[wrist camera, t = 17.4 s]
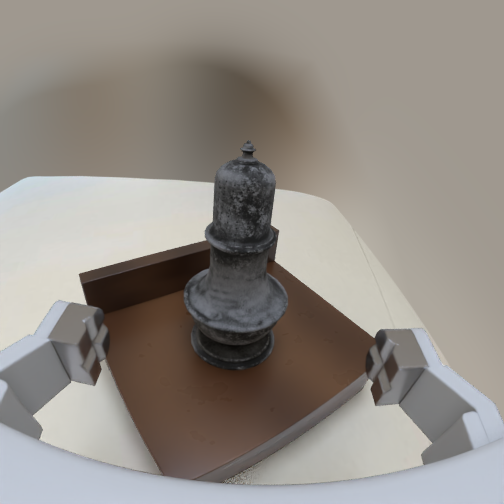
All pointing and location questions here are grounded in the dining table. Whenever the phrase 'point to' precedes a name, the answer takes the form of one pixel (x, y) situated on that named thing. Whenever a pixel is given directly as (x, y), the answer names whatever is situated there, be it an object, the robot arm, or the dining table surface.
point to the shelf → (216, 379)
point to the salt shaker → (237, 270)
